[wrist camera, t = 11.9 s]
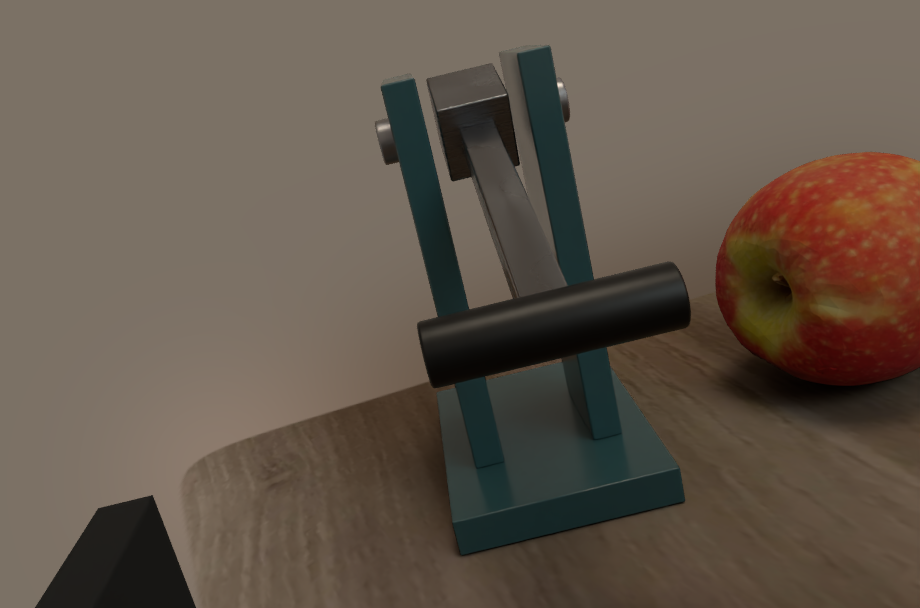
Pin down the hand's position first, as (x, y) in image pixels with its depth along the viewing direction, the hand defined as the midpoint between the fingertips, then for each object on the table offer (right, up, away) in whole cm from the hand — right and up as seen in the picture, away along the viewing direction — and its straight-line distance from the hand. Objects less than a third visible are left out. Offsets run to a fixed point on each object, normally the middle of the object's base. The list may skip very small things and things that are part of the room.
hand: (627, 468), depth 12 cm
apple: (+12, 0, +19) cm, 23 cm away
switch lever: (-1, +4, +11) cm, 12 cm away
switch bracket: (+1, -3, +18) cm, 19 cm away
